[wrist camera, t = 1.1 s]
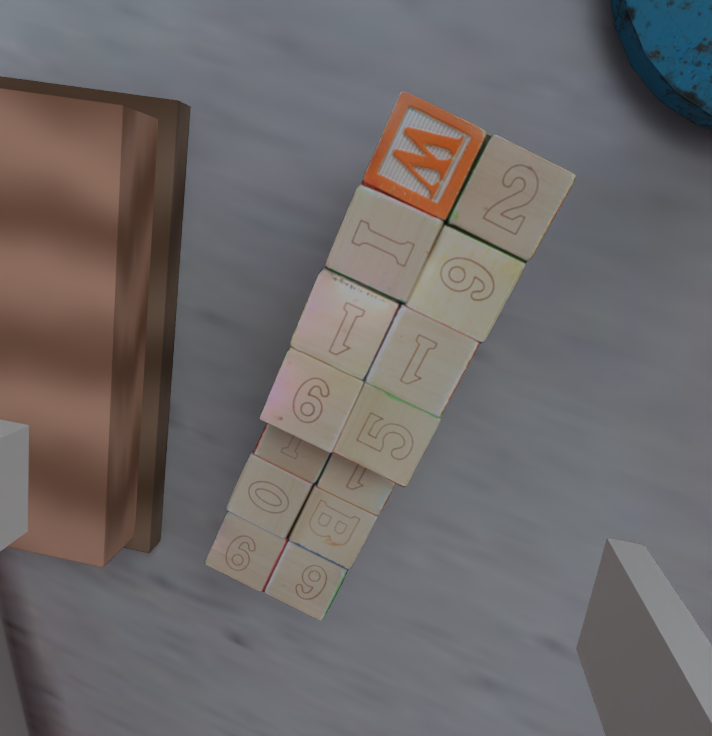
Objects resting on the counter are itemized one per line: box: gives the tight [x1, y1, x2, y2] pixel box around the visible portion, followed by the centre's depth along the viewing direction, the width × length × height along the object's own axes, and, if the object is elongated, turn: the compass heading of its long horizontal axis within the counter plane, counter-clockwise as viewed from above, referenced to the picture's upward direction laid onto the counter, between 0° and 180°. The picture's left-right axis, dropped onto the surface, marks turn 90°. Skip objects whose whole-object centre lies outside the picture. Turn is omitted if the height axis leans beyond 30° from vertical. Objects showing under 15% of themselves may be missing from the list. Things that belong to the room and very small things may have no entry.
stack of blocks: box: [204, 91, 576, 621], centre depth 27 cm, size 21×6×12 cm, turn 155°
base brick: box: [0, 77, 190, 567], centre depth 32 cm, size 26×11×5 cm, turn 172°
